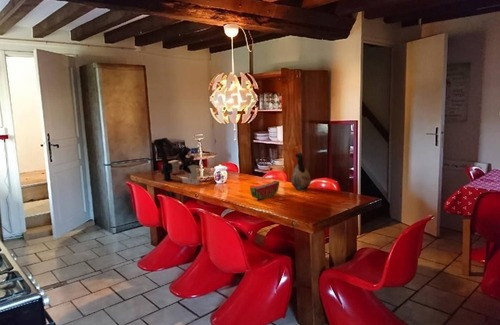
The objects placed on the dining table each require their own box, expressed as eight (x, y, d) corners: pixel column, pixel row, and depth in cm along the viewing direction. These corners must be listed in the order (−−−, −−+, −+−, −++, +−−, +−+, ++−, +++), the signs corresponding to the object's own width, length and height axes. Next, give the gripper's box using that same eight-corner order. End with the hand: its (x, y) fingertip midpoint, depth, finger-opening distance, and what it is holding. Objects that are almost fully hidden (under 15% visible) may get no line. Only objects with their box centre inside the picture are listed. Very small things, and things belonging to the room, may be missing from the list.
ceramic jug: (289, 187, 298) (288, 151, 293) (308, 186, 299) (307, 149, 294) (293, 193, 282) (293, 154, 276) (313, 192, 283) (313, 153, 277)
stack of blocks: (182, 170, 387) (181, 158, 385) (186, 170, 383) (185, 159, 381) (166, 174, 371) (165, 162, 369) (170, 174, 367) (169, 162, 365)
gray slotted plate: (191, 181, 322) (190, 166, 319) (189, 180, 323) (188, 166, 321) (196, 179, 326) (195, 165, 324) (194, 179, 328) (193, 164, 326)
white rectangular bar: (182, 182, 331) (182, 178, 331) (184, 182, 333) (184, 177, 332) (197, 184, 321) (197, 180, 320) (199, 184, 323) (199, 179, 322)
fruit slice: (255, 202, 263) (255, 188, 261) (249, 200, 267) (249, 187, 266) (280, 194, 281) (279, 181, 279) (274, 192, 285) (273, 180, 283)
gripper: (180, 154, 315) (190, 168, 311) (195, 151, 330) (205, 164, 326) (174, 163, 321) (184, 176, 317) (189, 159, 336) (199, 172, 332)
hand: (193, 172), depth 323 cm, fingers closed on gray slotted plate, 6 cm apart
